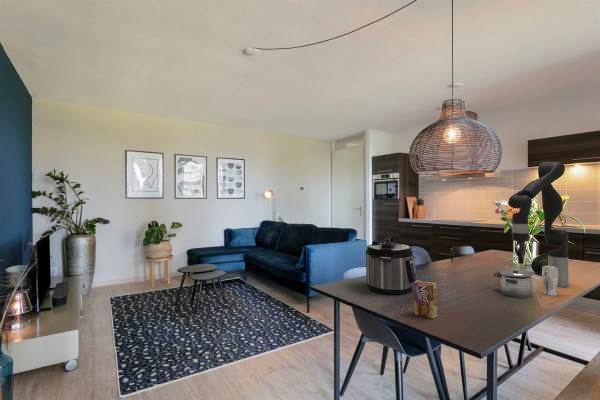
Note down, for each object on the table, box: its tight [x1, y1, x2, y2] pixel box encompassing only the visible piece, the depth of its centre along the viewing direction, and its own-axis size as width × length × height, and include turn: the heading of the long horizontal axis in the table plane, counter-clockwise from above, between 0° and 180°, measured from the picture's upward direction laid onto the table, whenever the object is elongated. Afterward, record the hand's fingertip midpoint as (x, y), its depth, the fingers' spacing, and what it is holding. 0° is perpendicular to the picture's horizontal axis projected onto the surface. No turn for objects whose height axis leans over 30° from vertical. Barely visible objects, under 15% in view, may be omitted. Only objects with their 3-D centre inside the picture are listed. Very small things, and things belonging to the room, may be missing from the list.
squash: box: [530, 253, 548, 276], centre depth 209 cm, size 14×15×15 cm
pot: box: [493, 271, 533, 299], centre depth 170 cm, size 19×17×10 cm
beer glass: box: [541, 266, 559, 297], centre depth 167 cm, size 7×7×15 cm
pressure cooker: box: [365, 235, 417, 295], centre depth 183 cm, size 30×28×32 cm
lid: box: [496, 269, 534, 277], centre depth 169 cm, size 15×16×2 cm
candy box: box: [413, 279, 438, 319], centre depth 140 cm, size 9×4×15 cm, turn 47°
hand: (521, 263), depth 167 cm, fingers closed
